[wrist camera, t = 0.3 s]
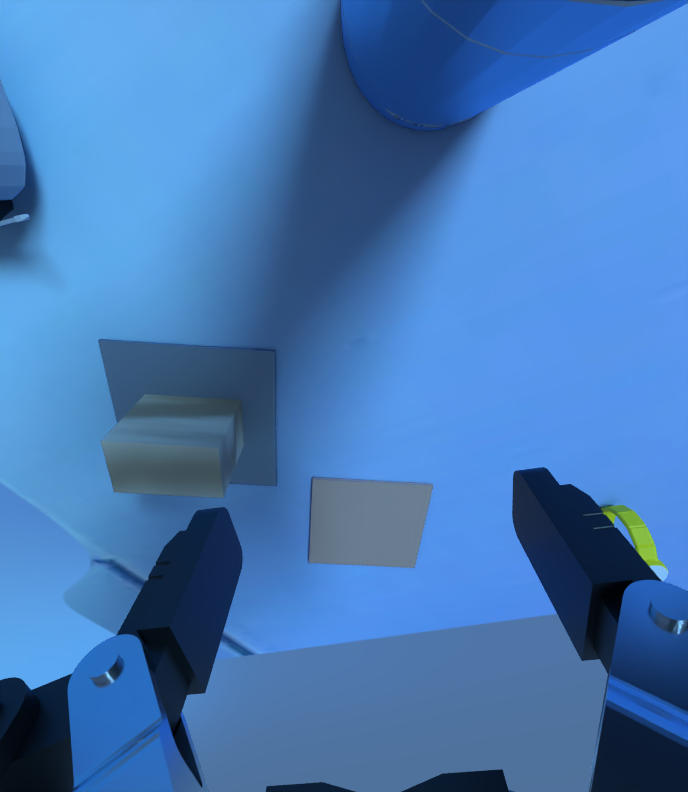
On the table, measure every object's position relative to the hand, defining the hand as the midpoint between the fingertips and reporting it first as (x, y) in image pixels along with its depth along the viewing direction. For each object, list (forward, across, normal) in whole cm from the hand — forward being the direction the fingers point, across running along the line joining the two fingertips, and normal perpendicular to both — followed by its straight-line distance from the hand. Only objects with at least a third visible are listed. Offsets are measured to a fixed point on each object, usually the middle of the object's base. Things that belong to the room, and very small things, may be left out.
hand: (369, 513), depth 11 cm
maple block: (+18, +13, +5) cm, 22 cm away
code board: (+18, +13, +5) cm, 23 cm away
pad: (+19, +2, +18) cm, 26 cm away
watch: (+19, -19, +21) cm, 34 cm away
